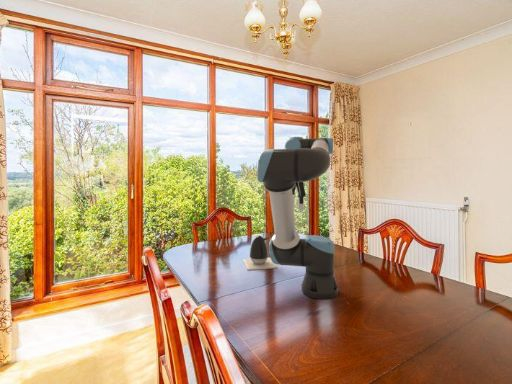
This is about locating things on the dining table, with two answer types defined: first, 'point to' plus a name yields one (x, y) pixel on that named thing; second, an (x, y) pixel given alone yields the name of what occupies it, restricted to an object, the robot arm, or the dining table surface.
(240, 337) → the dining table surface
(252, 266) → the trivet
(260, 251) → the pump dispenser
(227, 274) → the dining table surface
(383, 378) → the dining table surface
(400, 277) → the dining table surface
